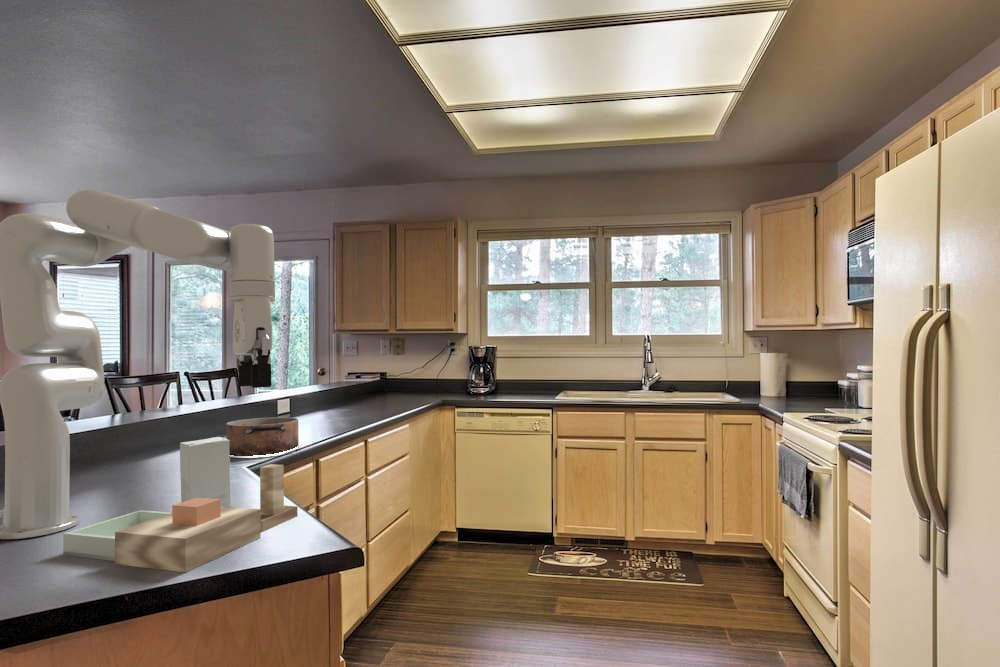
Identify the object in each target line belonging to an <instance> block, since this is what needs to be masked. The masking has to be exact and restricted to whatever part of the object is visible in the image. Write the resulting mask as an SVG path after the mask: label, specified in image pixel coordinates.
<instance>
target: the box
mask: <svg viewBox="0 0 1000 667" xmlns="http://www.w3.org/2000/svg"><path fill="white" fill-rule="evenodd" d="M171 513H172V512H170V511H169V512H167V511H157V510H156V511H155V510H142V509H140V510H139V509H138V510H137V511H133V512H132V511H131V512H130V513H127V514H123V515H119V516H117V517H113V518H110V519H107V520H104V521H100V522H97V523H93V524H90V525H87V526H84V527H80V528H78V529H74V530H70V531H68V532H65V533H63V537H62V540H63V543H62V544H63V546H62V554H63V556H68V557H76V558H77V557H79V558H85V559H94V560H102V561H103V560H104V561H111V562H115V532H116V531H119V530H122V529H125V528H128V527H131V526H134V525H137V524H140V523H143V522H146V521H149V520H152V519H155V518H159V517H162V516H165V515H168V514H171Z"/></svg>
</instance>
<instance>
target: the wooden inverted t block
mask: <svg viewBox="0 0 1000 667" xmlns="http://www.w3.org/2000/svg"><path fill="white" fill-rule="evenodd" d="M284 467H285V466H284V464H275V463H274V464H273V463H272V464H266V465H264V466H260V467H259V477H260V478H259V482H260V483H259V493H260V494H259V499H260V501H259V503H260V504H259V509H260V533H261V532H262V533H264V532H266V531H268V530H270V529H272V528H274V527H277V526H279V525H281V524H283V523H285V522H287V521H290V520H292V519H294V518H297V517H298V506H295V505H285V500H284V499H285V498H284V497H285V493H284V492H285V485H284V483H285V480H284V479H285V478H284V477H285V474H284V473H285V472H284V469H285V468H284Z"/></svg>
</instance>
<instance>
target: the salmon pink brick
mask: <svg viewBox="0 0 1000 667" xmlns="http://www.w3.org/2000/svg"><path fill="white" fill-rule="evenodd" d="M171 508H172V511H171V513H172V524H180V525H192V526H198V525H201V524H203V523H206V522H209V521H211V520H214V519H217V518H219V517H221V499H211V498H194V499H191V500H188V501H185V502H181V501H180V502H179V503H175V504H173V505H172V506H171Z"/></svg>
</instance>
